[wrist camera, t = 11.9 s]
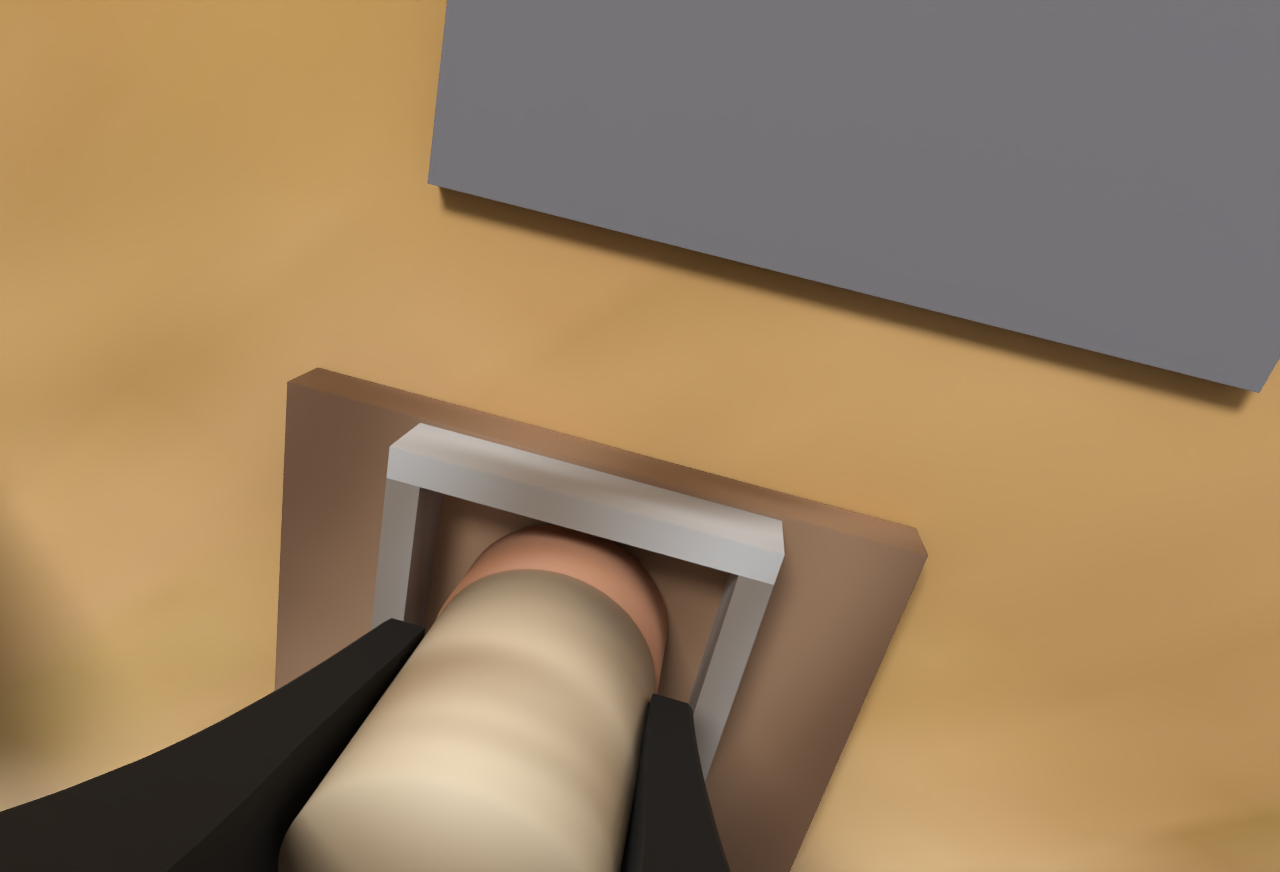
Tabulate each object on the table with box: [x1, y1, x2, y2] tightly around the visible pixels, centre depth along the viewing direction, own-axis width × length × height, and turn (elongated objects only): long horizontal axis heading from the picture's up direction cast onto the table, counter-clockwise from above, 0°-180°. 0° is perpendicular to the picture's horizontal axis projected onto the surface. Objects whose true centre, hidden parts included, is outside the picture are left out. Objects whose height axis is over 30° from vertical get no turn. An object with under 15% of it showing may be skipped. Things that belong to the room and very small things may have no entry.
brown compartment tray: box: [275, 368, 928, 872], centre depth 16 cm, size 12×14×2 cm
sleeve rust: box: [278, 525, 668, 872], centre depth 11 cm, size 4×4×6 cm
